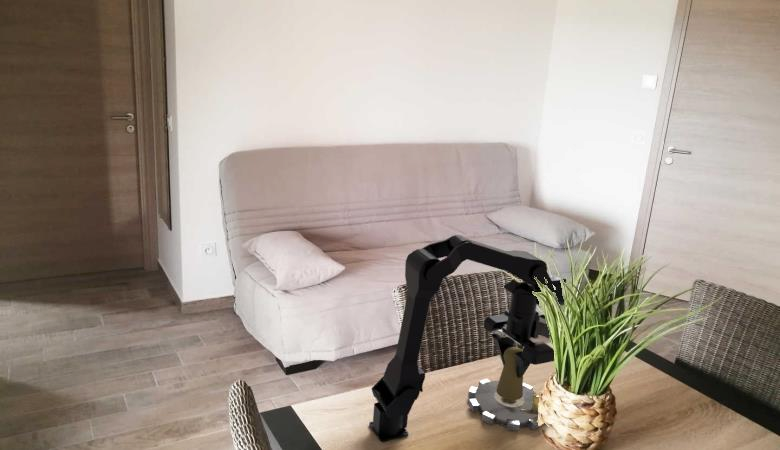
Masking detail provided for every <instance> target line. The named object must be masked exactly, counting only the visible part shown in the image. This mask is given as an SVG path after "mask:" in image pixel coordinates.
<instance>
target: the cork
mask: <svg viewBox="0 0 780 450" xmlns="http://www.w3.org/2000/svg"><path fill="white" fill-rule="evenodd" d="M522 350H523V348H520V347H516V346H513V347H510V348H507V349H506V350H505V352H504V355H503V357H504V361H505V364H504V366H502V367H503V368H502V371H501V372H500V377H499V379H500V380H498V381H499V383H498V386H497V390H496V391H497V393H498V395H499V396H501V397H503V398H505V399H508V400H518V399H521V398H522V396H523V383H524V376H523V377H521V378H518V377H517V372H516V360H515V353H517V352H522Z"/></svg>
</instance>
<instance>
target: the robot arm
mask: <svg viewBox="0 0 780 450" xmlns="http://www.w3.org/2000/svg"><path fill="white" fill-rule="evenodd" d="M441 258H443V259H441ZM467 260H468V261H471V262H474V263H478V264H481V265H485V266H488V267H491V268H493V269H498V270H501V271H504V272H508V273H509V274H511V275H513V276H514V277H516V278H517V279H519V280H522V281H516V280H515V279H511V280H510V281H509V282H507V283H506V284H504V286H503V289H504V290H506V291H508V292H509V293H510V294H511V295H510V302H509V308H508V309H505V310H504V314H503V313H502V314H496V315H489V316H487V317H486V318H485V319H484V322H483V329H485V330H486V331H487V332H488V333H491V338H493V342H494V343H495V346H496V349H497V351H498V354H499V357H500V359H501V362H502V365H503V366H502V367H504V364H505V361H504V357H503V355H504V352H505V350H506V349H507V348H510V347H514V343H516V344H518V345H519V346H522V347H523V348H522V352H517V353H515V360H516V372H517V377H518V378H521V377H523V378H524V375H525V373H526V372H527V370H528V368H529V366H530V365H534V366H537V365H541V364H547V363H550V362H552V363H553V362H555V359H554V350H555V349H554V348H553V347H551V346H550V345H549V344H547V343H545V342H544V341H538V342H534V341H532V340H531V339H532V338H533V339H538V338H539V336H541V337H544V338H546V339H550V337H551V335H549V330H548V327H547V324H546V321H547V320H546V319H545V318H543V317H541V316H540V313H539V311H537V306H538V307H539V308H541V307H540V306H539V301H538V299H537V297H536V296H534V295H533V294H532V291H534V292H541V290H540V288H539V287H538V284H537V282H536V280H535V279H534V276H535V277H537V279H538V280H539V281H540V282H541V283H542V284H544V285H547V286H548V288H549V289H550V290H551V291H552V292H555V293H556V296H557V298H558V302H559V304H560V305H561V306H560V307H564V306H563V305H564V299H563V296H562V288H561V283H560V278H562V279H563V280H564V282H565V283H566V284H567V279H566V278H565V277H563V276H562V275H555V276H553V277H550V275H549V273H548V264H547V262H545V261H543V259H541V258H538V257H536V256H535V255H534V254H532V253H530V252H529V251H524V250H515V249H514V250H504V249H500V248H497V247H494V246H492V245H488V244H485V243H482V242H479V241H476V240H472V239H469V238H466V237H464V236H463V235H460V234H454V235H451V236H450V237H448V238H447V239H445V240H444V239H443V240H440V241H436V242H432V243H429V244H428V245H426V246H424V247H422V248H417V249H416V250H415V249H414V250H413V251H412V252H410V253H409V254H408V255H407V257H406V259H405V265H404V266H405V267H404V268H405V270H404V271H405V272H404V277H405V284H406V289H407V295H406V302H405V306H404V310H403V311H404V312H403V316H402V321H401V326H400V329H399V330H400V332H399V334H398V335H399V336H398V342H397V346H396V351H395V355H394V357H393V358H392V359H391V360H390V361H389V362H388V363H387V366H386V369H385V371H384V373H383V376H382V377H381V378H380V379H379V380H378V381H377V382H376V383H375V384H374V385H373V386H372V387H371V392H372V395H373V397H374V398H375V399H376V401H377V402H375V403H373V416H372V421H370V422H369V424H368V425H369V427H370V428H371V430H372V431H373V433H374V434H375V435H376V437H377V438H378V440H379V441H380V442H382V443H383V442H388V441H392V440H397V439H399V438H400V439H401V438H403V437H407V436H409V431H408V430H407V429H406V428H407V427H408V418H409V415H410V412H411V410H412V408H413V405H414V403H415V401H417V399H418V398H419V396H420V394H421V393H422V392H424V391H423V385H424V382H425V379H426V373H425V371H424V370H423V369H422V368H421V366H420V365H419V363H418V362H419V358H420V353H421V348H422V345H423V344H422V343H423V338H424V333H425V328H426V324H427V319H428V314H429V309H430V305H431V302H432V301H431V300H432V299H433V297H434V296H435V295H436V294H437V293H438V292H439V290H440V289H441V286H442V284H443V281H444V279H445V278H447V277H449V276H451V275H452V274H453V273H455V271H456V270H457V269H458V268H459V266H460V265H461V264H462V263H463V262H465V261H467ZM544 277H545V279H547V281H548V283H547V284H546V283H545V279H544ZM552 284H553V285H554V286H555V287H556V290H554V288H553V285H552ZM493 332H494V333H493ZM553 349H554V350H553Z"/></svg>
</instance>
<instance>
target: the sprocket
mask: <svg viewBox="0 0 780 450" xmlns="http://www.w3.org/2000/svg"><path fill="white" fill-rule="evenodd" d="M499 380H500V378H499ZM499 380H492V381H491V380H489V378H484V379H482V380H479V381H478V386H477V387H476V386H473V385H471V386H470V387H469V390H468V392H467V393H468V394H467V398H469V399H468V407H469V408H470V410H471V411H472V412H473V413H475V412H478V413H480V415H481V420H482V421H483V422H486V423H487V424H489V425H491V426H492V425H494V424H497V425H498V424H499V425H500V426H505V428H506V430H508V431H516V432H518V431H519V430H520V428H525V427H528V428H529V429H531V430H536V429H539V428H540V427H538V403H539V398H540V394H541V393H536V392H535V391H534V390H533V389H534V386H531V385H530V384H527V383H525V382H523V396H522V398H521V399H518V400H508V399H505V398H503V397H501V396H499V395H498V393H497V391H496V390H497V386H498V383H499Z"/></svg>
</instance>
